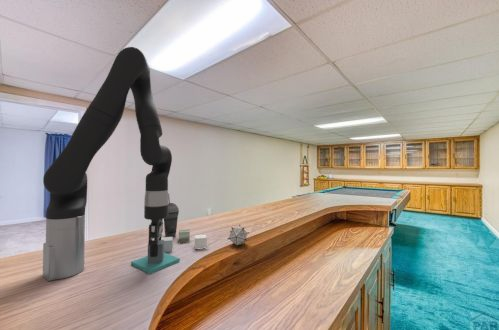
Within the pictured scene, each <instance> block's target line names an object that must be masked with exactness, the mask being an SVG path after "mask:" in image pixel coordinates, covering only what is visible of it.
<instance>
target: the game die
mask: <svg viewBox="0 0 499 330" xmlns="http://www.w3.org/2000/svg"><path fill="white" fill-rule="evenodd" d="M229 232H230V234H229V237H228V238H227V240H230V241H231V243H232V244H233V245H235V248H238V246H240V245H246V243H245V242H246V241H248V239H247V237H248V234H250V232H247V231H246V230H245V227H243V228H242V227H241V224H239V225H238V226H236V227H233V226H232V227H231V230H230V231H229Z"/></svg>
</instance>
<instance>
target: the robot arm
mask: <svg viewBox="0 0 499 330" xmlns="http://www.w3.org/2000/svg"><path fill="white" fill-rule="evenodd" d="M151 82H152V81H151V68H150V66H149V63H148V60H147V58H146V56H145V54H144V53H143V52H142V51H141V49H139V48H137V47H134V46H131V47H130V46H128V47H125V48H123V49H121V50H120V51H119V52H118V53H117V55H116V57H115V59H114V60H113V63H112V64H111V67H110V70H109V71H108V73H107V76H106V78H105V80H104V81H103V83H102V85H101V86H100V88H99V89H98V90H97V92H96V95H95V96H94V98H93V100H92V101H91V102H90V104H89V105H88V107H87V108H86V110H85V111H84V113H83V115H81V118H80V120H79V122H78V123H77V125H76V127H75V129H74V131H73V132H72V134H71V137H70V139H69V141H68V142H67V144H66V145H65V147H64V148H63V150H62V151H61V152H60V154H59V155H58V156H57V157H56V159H55V160H54V161H53V162H52V164H50V166H49V167H48V169H47V170H46V171H45V173H44V175H43V178H42V179H43V186H44V188H45V189H46V190H47V191H48V192H49V193H50V195H49V203H48V206H47V208H46V210H45V242H44V243H43V244H42V276H43V277H44V278H45V279H46V280H47V281H48V282H51V281H55V280H62V279H66V278H69V277H70V278H71V277H73V276H75V275H77V274H80V273H81V272H83V271H84V269H85V263H86V262H85V250H86V249H85V245H86V244H85V241H86V235H85V234H86V207H87V199H88V175H87V171H88V168H89V167H90V164H91V162H92V160H93V158H94V157H95V156H96V154H97V153H98V152H99V151H100V149H101V148H103V146H105V144H106V143H107V141H108V140H109V139H110V138H111V136H112V135H113V134H114V132H115V130H116V129H117V127H118V125H119V123H120V122H121V120H122V118H123V115H124V113H125V112H124V111H125V107H126V103H127V97H128V94H129V92H130V90H131V93H132V96H133V101H134V112H135V119H136V122H137V123H136V124H137V126H138V131H139V133H140V139H139V140H140V141H139V142H140V143H139V144H140V146H139V147H140V149H139V150H140V151H139V152H140V156H141V159H142V160H143V162H144V163H146V164H147V165H148V166H152V167H151V171H150V172H149V173H147V175H146V177H145V192H144V200H143V201H144V205H143V206H144V207H143V208H144V210H143V212H144V214H143V216H144V217H143V218H144V219H145V220H150V224H149V225H148V244H149V245H150V257H157V255H158V244H159V242H158V240H161V238H162V237H163V236H162V235H163V232H164V231H163V229H164V218H167V217H168V203H169V199H168V194H169V189H168V188H169V180H168V179H169V175H170V172H171V167H172V163H173V161H172V160H173V158H172V152H171V149H170V148H169V147H167V146H165V145H161V143H160V138H161V137H162V135H163V129H162V126H161V124H162V123H161V121H160V117H159V114H158V110H157V108H156V104H155V101H154V97H153V91H152V83H151ZM152 240H155V241H152ZM148 244H147V245H148Z"/></svg>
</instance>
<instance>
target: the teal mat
mask: <svg viewBox="0 0 499 330" xmlns="http://www.w3.org/2000/svg"><path fill="white" fill-rule="evenodd" d="M179 261H180V262H181V259H180V257H177V256H174V255H171V254H168V252H165V253H164V258H163V262H159V263H149V264H148V255H146V256H144V257H140V258H137V259H135V260H131V261H130V265H131V266H133V267H135V268H136V269H139V270H141V271H143V272H145V273H147V274H148V275H151V274H154V273H155V272H158V271H160V270H163V269H166V268H167V267H170V266H172V265H176V264H178V263H180V262H179Z"/></svg>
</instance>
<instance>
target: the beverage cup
mask: <svg viewBox="0 0 499 330" xmlns="http://www.w3.org/2000/svg"><path fill="white" fill-rule="evenodd" d="M179 212H180V210H179V207H178V205H177V204H176V203H173V202H171V199H170V193H168V217H167V218H164V219H163V229H164V235H165V236H164V237H173V239H174V238H176V236H177V230H178V229H177V228H178V217H179Z"/></svg>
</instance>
